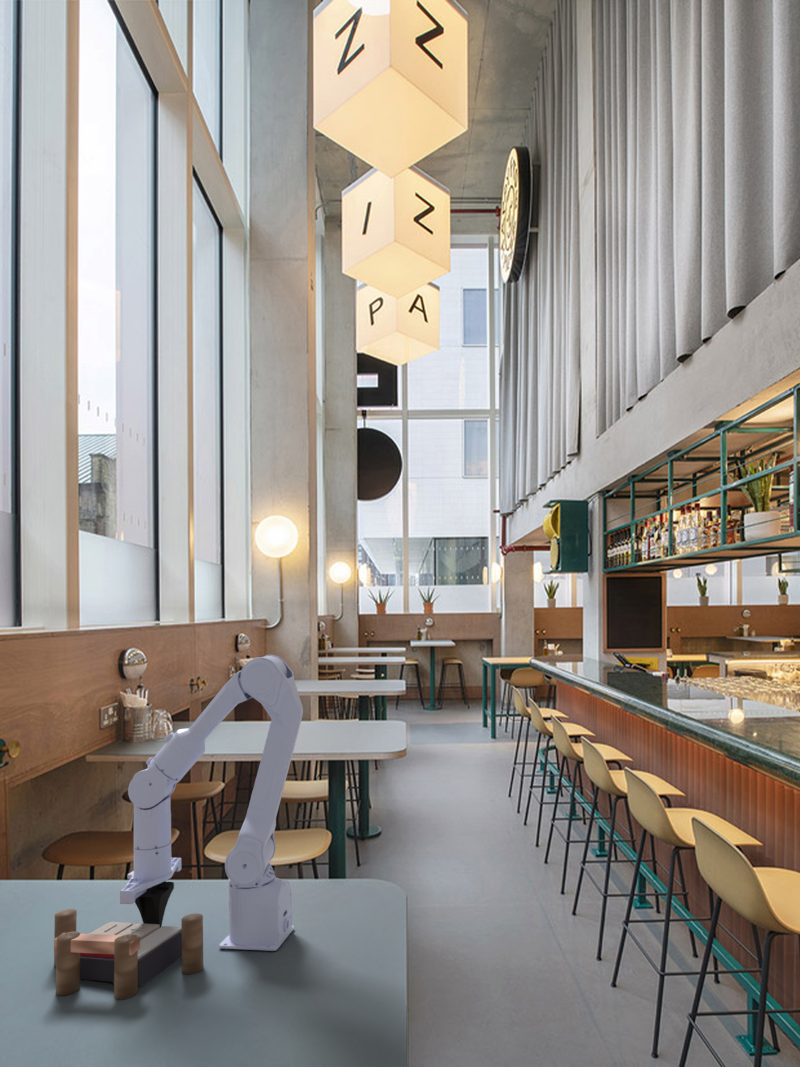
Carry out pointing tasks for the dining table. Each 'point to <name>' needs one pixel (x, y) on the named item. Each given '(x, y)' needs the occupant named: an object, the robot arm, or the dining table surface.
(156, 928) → the calculator
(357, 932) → the dining table surface
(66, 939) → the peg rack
